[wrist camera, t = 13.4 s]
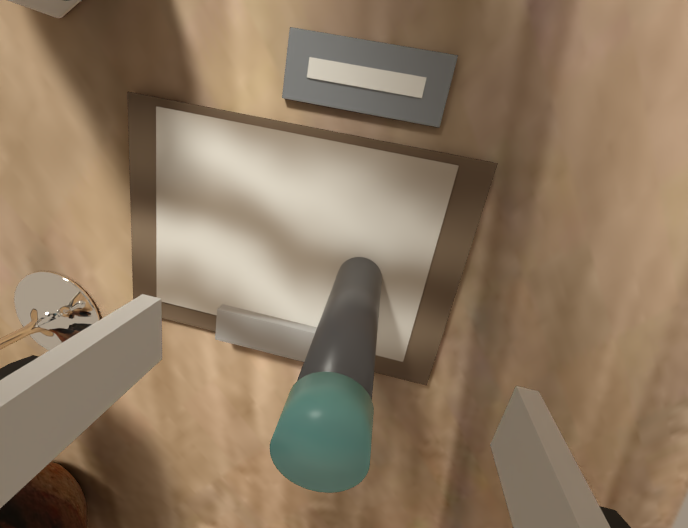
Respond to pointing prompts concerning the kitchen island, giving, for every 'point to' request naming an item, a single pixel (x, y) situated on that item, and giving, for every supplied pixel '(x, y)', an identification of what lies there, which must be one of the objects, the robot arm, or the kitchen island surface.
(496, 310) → the kitchen island surface
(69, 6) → the container
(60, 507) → the ceramic vessel
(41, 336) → the wineglass
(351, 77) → the plate
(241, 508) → the kitchen island surface
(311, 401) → the marker
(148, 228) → the clipboard
